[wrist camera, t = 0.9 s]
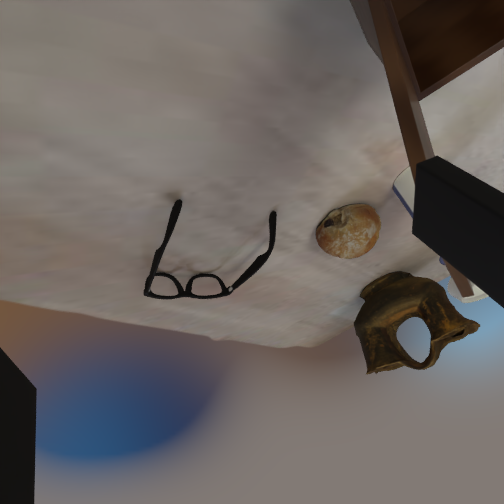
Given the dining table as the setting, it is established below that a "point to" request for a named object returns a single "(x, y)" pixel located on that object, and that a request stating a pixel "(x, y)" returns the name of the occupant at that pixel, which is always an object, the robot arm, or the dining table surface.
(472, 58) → the chest
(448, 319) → the pottery vessel
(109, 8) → the dining table surface
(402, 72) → the brown flat panel
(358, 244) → the bread roll
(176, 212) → the glasses
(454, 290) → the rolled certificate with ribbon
